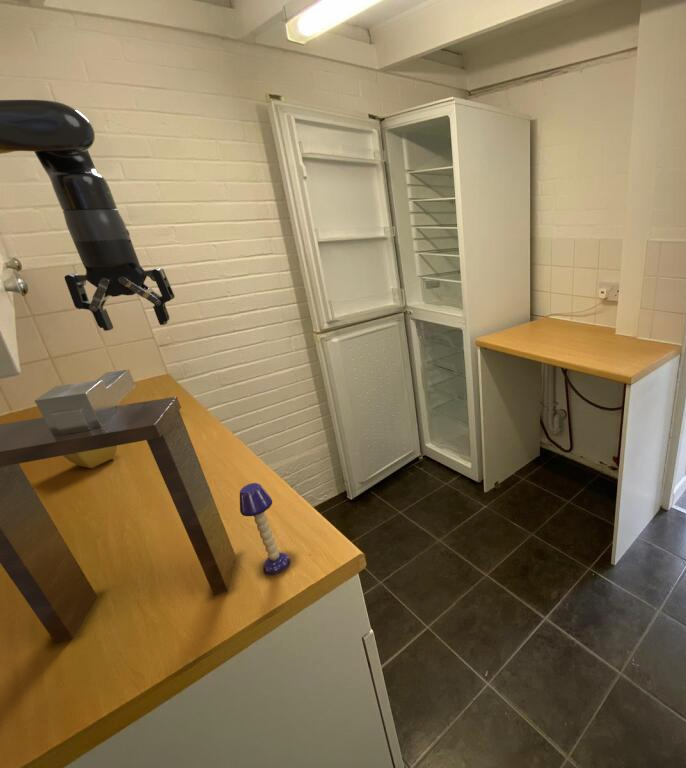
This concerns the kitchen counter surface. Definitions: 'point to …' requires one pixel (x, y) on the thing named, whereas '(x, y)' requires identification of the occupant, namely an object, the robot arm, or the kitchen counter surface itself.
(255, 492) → the toy lamp
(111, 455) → the flower pot
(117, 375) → the silver stand
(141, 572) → the kitchen counter surface
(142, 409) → the dark brown arch frame
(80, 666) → the kitchen counter surface
